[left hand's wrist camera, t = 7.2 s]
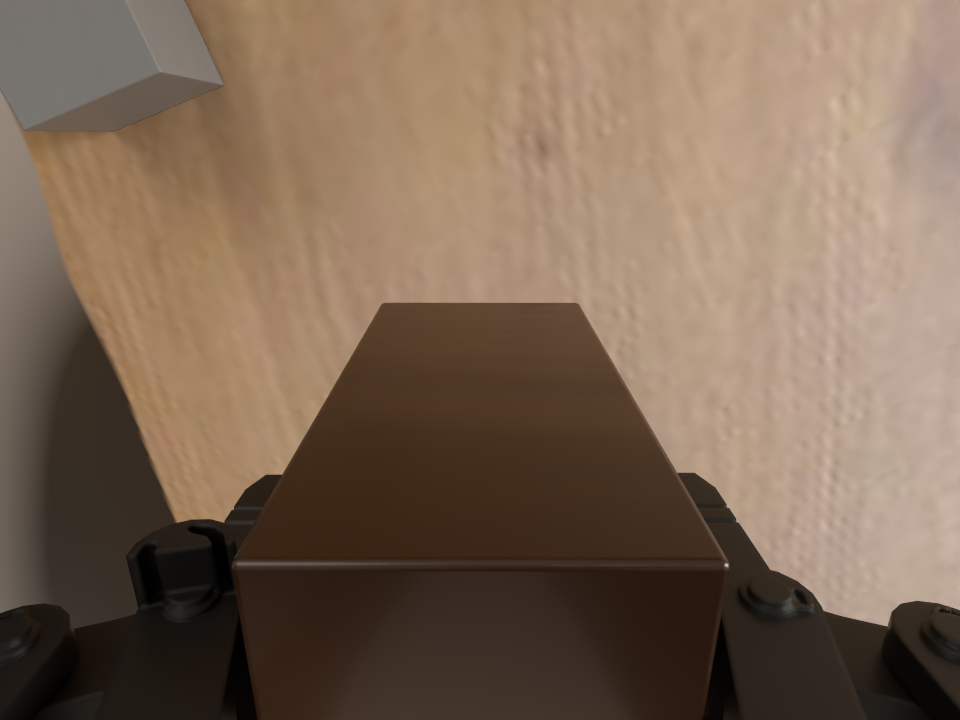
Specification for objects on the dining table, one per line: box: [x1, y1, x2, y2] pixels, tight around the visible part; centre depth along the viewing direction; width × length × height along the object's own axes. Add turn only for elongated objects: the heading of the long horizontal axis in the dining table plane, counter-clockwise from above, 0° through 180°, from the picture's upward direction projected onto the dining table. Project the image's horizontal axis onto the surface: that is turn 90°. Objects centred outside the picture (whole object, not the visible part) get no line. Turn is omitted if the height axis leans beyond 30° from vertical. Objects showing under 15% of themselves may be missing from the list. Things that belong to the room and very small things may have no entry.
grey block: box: [0, 0, 224, 132], centre depth 21 cm, size 5×5×5 cm
